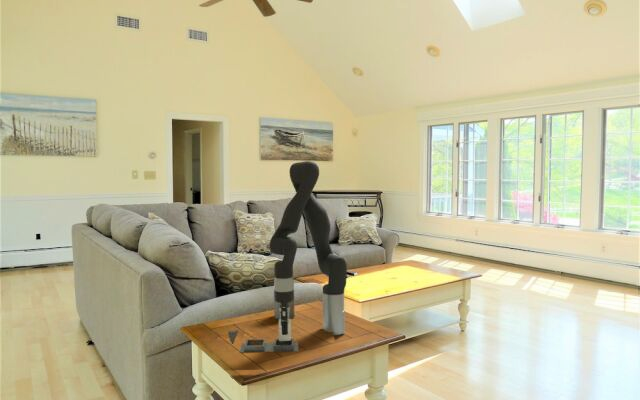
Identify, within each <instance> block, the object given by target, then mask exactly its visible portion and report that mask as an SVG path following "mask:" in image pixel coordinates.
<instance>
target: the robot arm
mask: <svg viewBox="0 0 640 400" xmlns="http://www.w3.org/2000/svg"><path fill="white" fill-rule="evenodd" d="M319 167H320V166H318V164H317V163H316V162H315V161H311V160H310V161H309V160H307V161H306V160H305V161H300V162H294V163H292V164H291V166H290V168H289V178H290V181H291V183H292V186H293V188H294V191H295V194H294V195H293V197H292V199H291V200H290V201H289V202H288V204H287V205H286V206H285V208H284V211H283V215H282V217H281V221H280V223H279V225H278V227H277V228H276V230H275V231H274V233H273V235H272V236H271V239H270V240H269V246H268V247H269V250H270V252H271V253H272V254H273V255H277V256H278V255H279V256H283V258H282V260H278V261H276V262H275V263H274V268H273V270H274V282H273V301H274V300H275V301H276V302H278V303H281V305H279V311H280V319H281V325H282V335H287V334H288V318H289V310H290V304H288V302H292V301H293V300H294V301H295V285H294V284H295V282H294V268H293V267H294V263H295V259H296V254H297V249H298V244H297V241H296V240H295V238H293V237H290V236H289V235H291V234H295V233H296V232H297V231H298V229H299V226H300V222H301V220H302V215H304V216H305V217H304V218H305V221H306V225H307V227H308V231H309V233H310V236H311V240H312V243H313V246H314V250H315V255H316V258H317V263H318V268H319V271H320V272H321V273H322V274H323V275H325V276H328V281H327V283H325V284H324V285H323V286H322V330H323V331H324V332H328V333H332V335H333V336H339V335H345V334H346V333H345V331H346V329H345V328H346V326H345V325H346V324H345V323H346V314H345V313H346V312H345V311H346V310H345V288H346V286H347V275H348V264H347V262H346V259H345V258H344V257H342V256H340V255H335V254H334V253H333V251H332V248H331V245H330V236H331V235H330V234H331V221H330V219H329V215H328V212H327V210H326V208H325V207H324V206H323V204H322V203H321V202H320V201H319V200H318V198H317V197H315V195H314V193H313V191H314V189H315V186H316V184H317V182H318V179H319V178H320V177H319V176H320V168H319ZM283 320H286V322H283Z"/></svg>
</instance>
